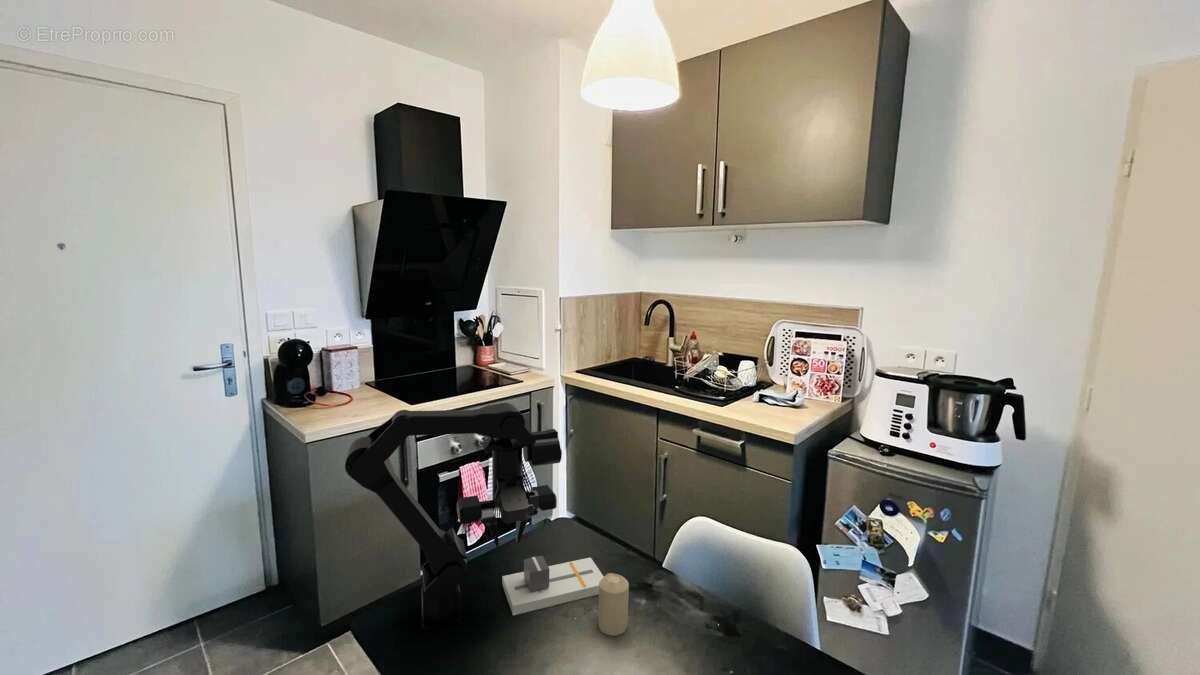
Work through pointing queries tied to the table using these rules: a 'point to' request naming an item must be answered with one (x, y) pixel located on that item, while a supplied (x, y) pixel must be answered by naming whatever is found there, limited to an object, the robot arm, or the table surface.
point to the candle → (613, 604)
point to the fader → (536, 573)
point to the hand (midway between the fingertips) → (507, 543)
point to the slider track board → (553, 586)
